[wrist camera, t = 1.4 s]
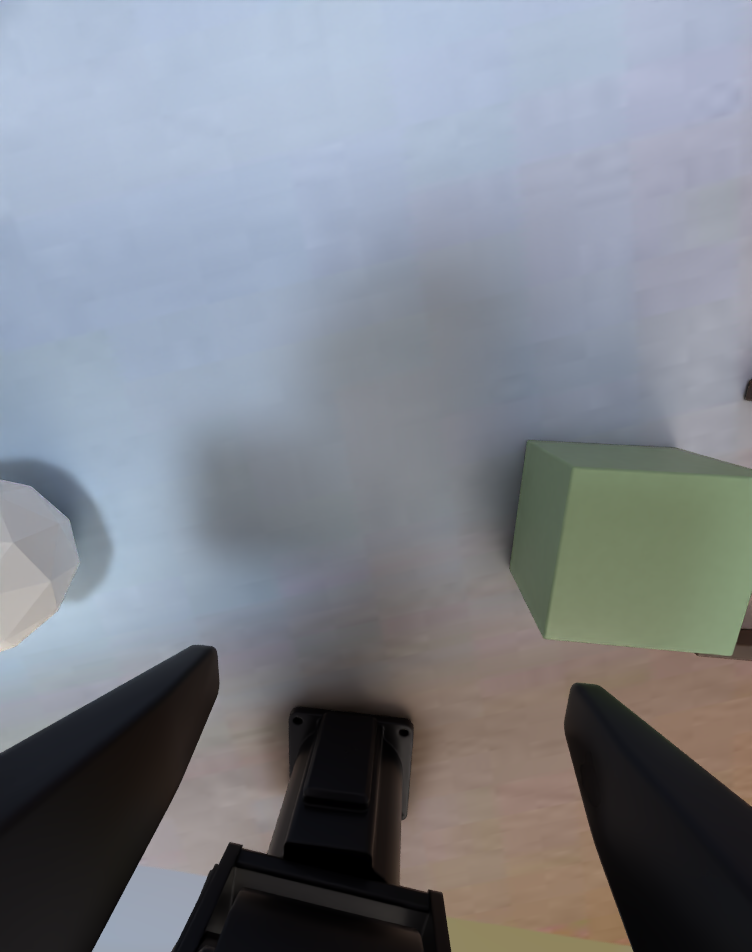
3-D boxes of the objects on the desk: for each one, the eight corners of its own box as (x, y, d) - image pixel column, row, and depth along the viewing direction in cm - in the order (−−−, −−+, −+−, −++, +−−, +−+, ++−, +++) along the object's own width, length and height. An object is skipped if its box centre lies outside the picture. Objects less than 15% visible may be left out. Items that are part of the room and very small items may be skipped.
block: (646, 580, 18) (733, 657, 13) (508, 569, 18) (542, 640, 13) (677, 447, 16) (789, 479, 11) (526, 439, 17) (572, 466, 12)
